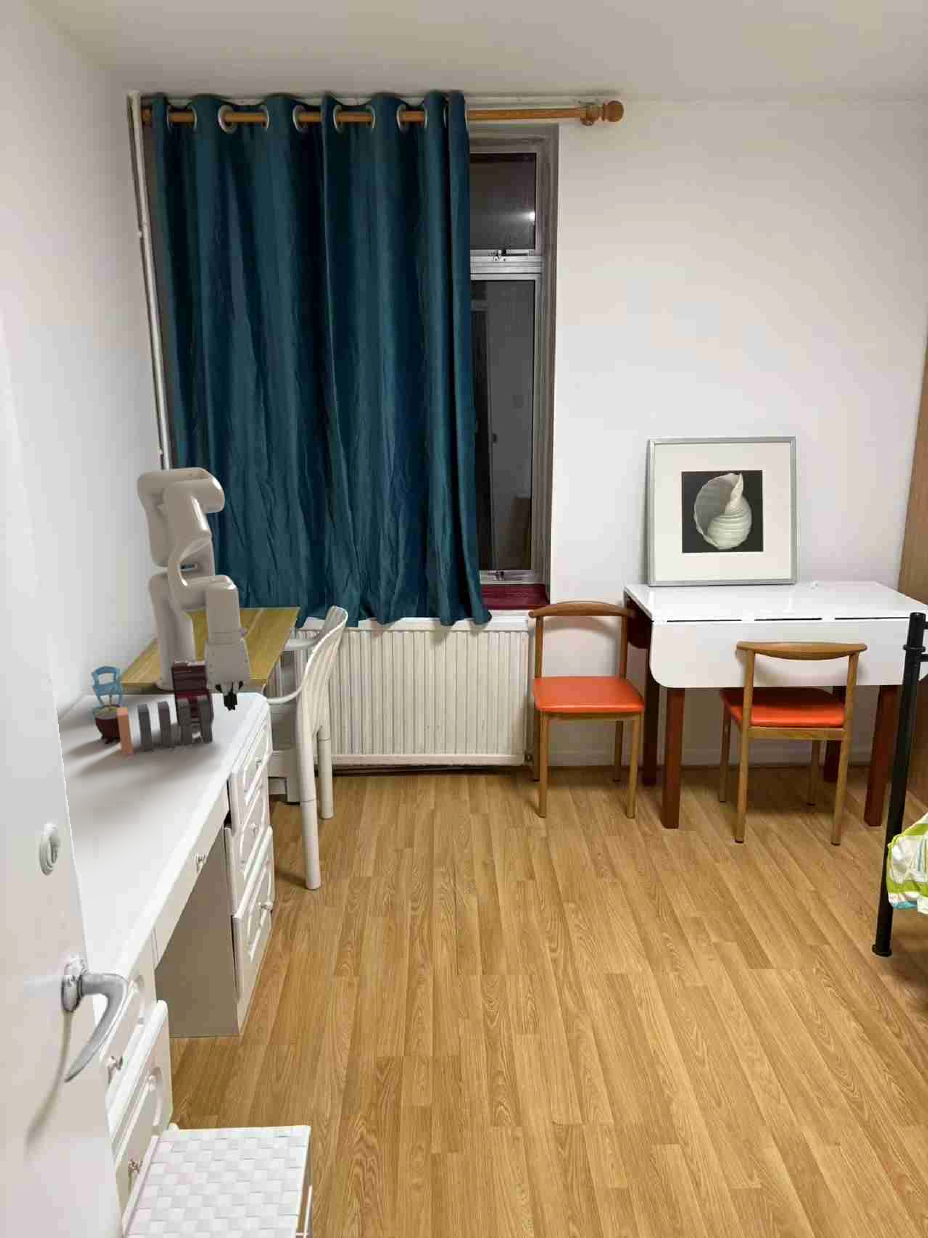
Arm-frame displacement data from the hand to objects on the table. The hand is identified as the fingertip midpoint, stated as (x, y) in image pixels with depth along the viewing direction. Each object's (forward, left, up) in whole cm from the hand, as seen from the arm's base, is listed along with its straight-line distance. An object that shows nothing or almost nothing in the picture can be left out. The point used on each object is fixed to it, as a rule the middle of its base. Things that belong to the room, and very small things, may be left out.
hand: (231, 708), depth 229 cm
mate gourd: (-8, -26, -7) cm, 29 cm away
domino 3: (0, -11, -7) cm, 13 cm away
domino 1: (0, -20, -7) cm, 21 cm away
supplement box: (-11, -7, -7) cm, 15 cm away
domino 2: (0, -15, -7) cm, 17 cm away
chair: (-26, -26, -7) cm, 38 cm away
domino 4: (0, -6, -7) cm, 9 cm away
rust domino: (0, -24, -7) cm, 25 cm away
